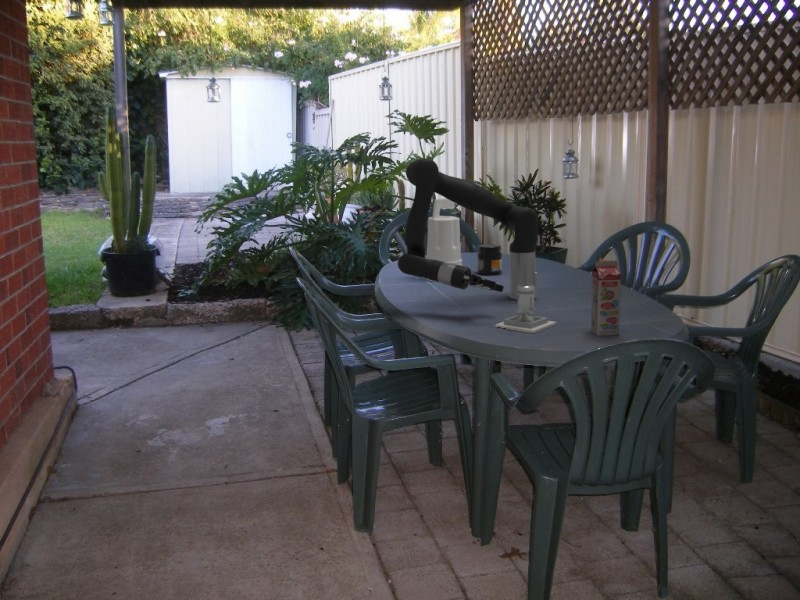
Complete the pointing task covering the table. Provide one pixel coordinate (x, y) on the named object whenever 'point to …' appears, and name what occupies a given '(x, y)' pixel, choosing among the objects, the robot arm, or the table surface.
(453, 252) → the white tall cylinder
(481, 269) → the supplement container
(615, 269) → the juice carton
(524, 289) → the grey canister
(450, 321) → the table surface
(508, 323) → the duct flange
